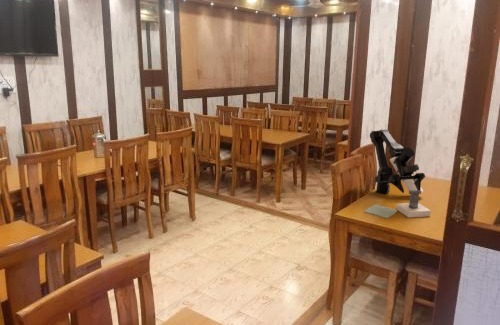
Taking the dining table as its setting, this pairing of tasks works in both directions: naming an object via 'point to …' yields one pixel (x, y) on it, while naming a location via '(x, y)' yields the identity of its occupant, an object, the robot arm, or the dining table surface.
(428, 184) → the dining table surface
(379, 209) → the pad
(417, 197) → the t key
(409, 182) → the cylindrical container
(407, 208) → the socket block
